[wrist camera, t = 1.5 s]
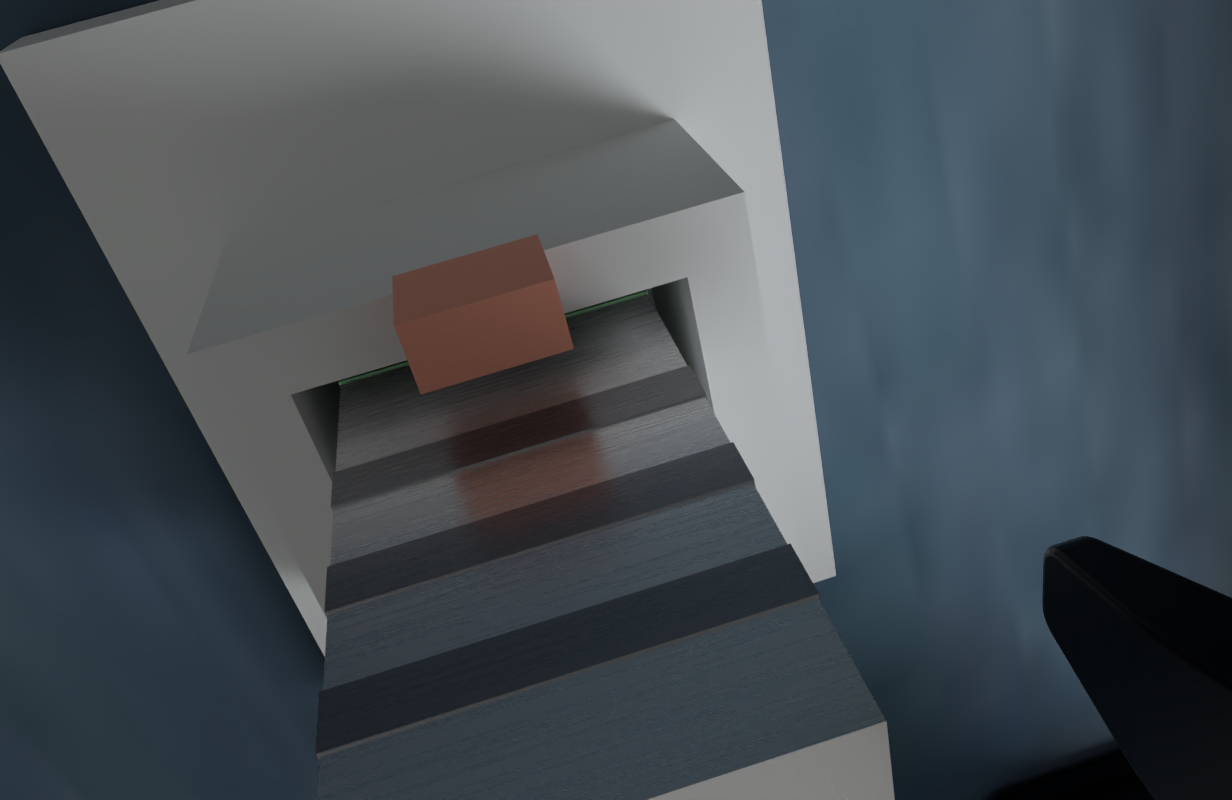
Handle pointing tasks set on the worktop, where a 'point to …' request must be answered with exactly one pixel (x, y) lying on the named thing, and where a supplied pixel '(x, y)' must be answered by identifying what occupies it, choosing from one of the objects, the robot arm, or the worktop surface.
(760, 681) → the column
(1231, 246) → the worktop surface
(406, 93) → the stand base
